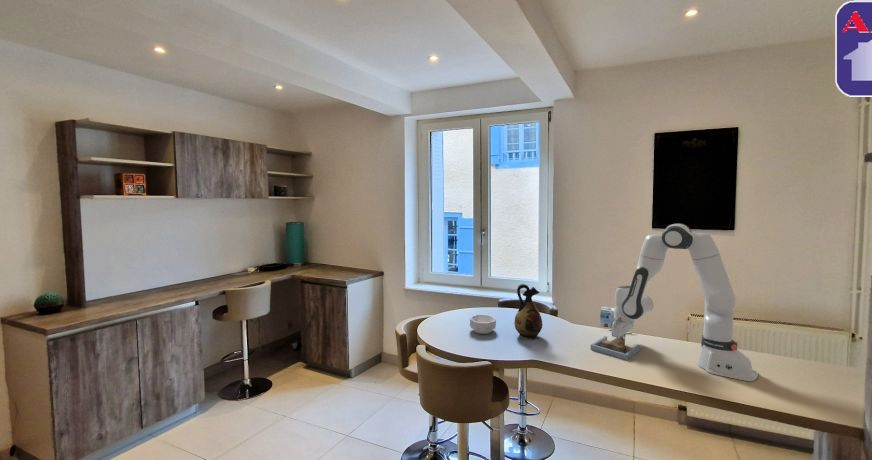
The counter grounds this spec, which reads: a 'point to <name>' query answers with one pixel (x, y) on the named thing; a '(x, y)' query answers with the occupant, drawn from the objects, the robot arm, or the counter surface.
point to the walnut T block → (614, 345)
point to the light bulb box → (607, 317)
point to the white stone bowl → (482, 323)
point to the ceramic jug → (528, 315)
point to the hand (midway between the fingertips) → (622, 340)
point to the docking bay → (596, 347)
